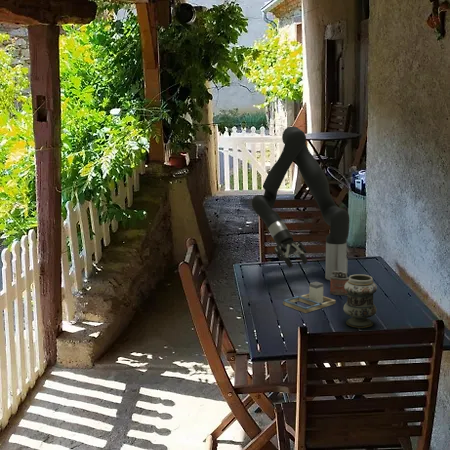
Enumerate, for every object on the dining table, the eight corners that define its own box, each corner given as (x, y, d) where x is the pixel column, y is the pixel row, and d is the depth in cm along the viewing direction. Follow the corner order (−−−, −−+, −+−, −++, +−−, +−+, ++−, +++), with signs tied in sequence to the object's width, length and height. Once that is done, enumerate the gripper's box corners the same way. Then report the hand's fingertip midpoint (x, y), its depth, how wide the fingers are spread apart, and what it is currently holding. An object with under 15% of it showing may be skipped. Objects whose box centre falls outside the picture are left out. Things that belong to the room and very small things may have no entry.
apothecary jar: (371, 316, 241) (372, 272, 238) (379, 328, 230) (381, 281, 226) (339, 317, 241) (341, 272, 237) (347, 329, 229) (348, 282, 225)
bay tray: (312, 295, 267) (312, 291, 266) (335, 303, 257) (335, 299, 256) (283, 304, 257) (283, 300, 256) (305, 313, 247) (305, 308, 246)
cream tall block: (316, 299, 262) (316, 281, 260) (323, 302, 259) (323, 283, 257) (309, 301, 259) (309, 283, 258) (316, 304, 256) (316, 285, 255)
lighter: (349, 293, 269) (349, 271, 267) (348, 295, 266) (348, 273, 264) (330, 291, 272) (330, 269, 269) (329, 294, 268) (329, 271, 266)
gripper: (272, 231, 264) (290, 263, 257) (296, 226, 272) (315, 257, 266) (263, 241, 269) (281, 272, 263) (288, 236, 277) (306, 266, 271)
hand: (298, 264), depth 264 cm, fingers open, 8 cm apart
